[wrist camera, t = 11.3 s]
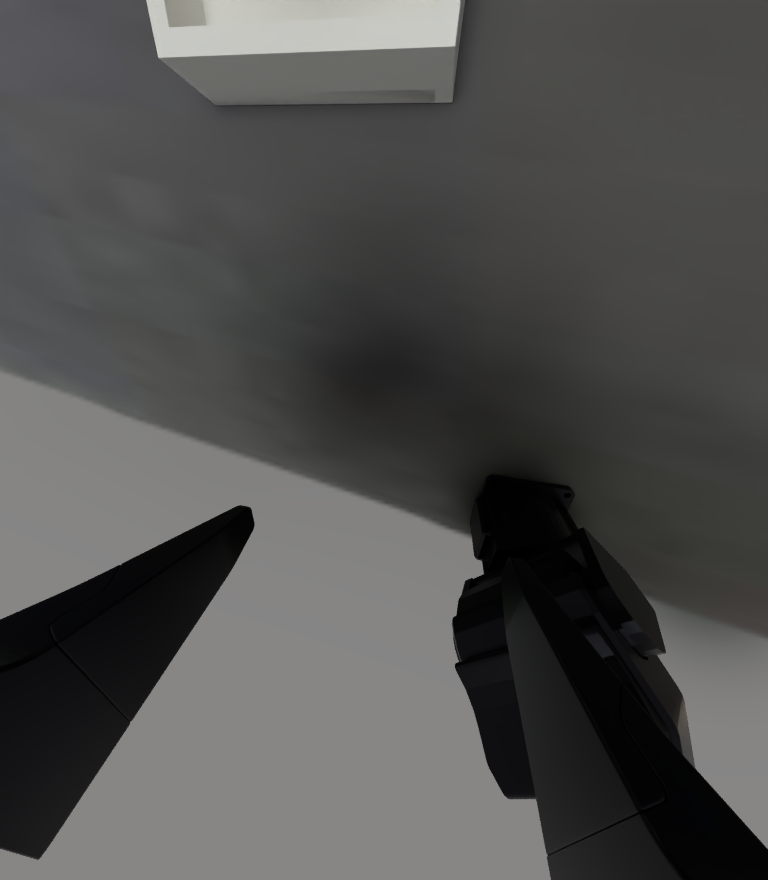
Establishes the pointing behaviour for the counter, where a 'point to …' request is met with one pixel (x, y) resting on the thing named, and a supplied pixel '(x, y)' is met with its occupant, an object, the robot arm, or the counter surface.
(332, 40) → the tray
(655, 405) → the counter surface
